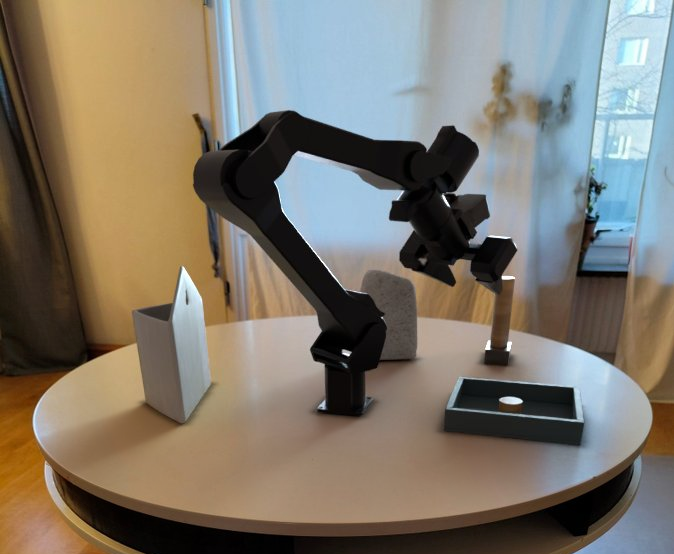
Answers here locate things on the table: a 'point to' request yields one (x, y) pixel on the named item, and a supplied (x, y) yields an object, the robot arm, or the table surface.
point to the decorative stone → (394, 312)
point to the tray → (532, 424)
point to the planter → (174, 351)
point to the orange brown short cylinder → (510, 405)
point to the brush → (501, 325)
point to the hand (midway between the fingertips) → (476, 288)
